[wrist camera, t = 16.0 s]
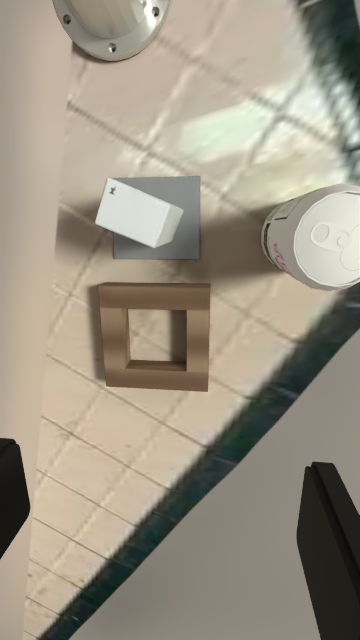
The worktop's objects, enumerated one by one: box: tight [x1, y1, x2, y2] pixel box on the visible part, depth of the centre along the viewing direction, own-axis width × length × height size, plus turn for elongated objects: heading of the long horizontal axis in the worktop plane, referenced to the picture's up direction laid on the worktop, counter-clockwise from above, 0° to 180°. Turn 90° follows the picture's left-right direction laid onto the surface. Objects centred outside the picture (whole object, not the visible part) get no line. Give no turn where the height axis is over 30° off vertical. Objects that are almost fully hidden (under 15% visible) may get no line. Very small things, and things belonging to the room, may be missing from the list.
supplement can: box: [261, 184, 360, 291], centre depth 30 cm, size 8×8×15 cm
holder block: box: [98, 282, 211, 392], centre depth 42 cm, size 14×14×3 cm
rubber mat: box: [112, 176, 200, 259], centre depth 39 cm, size 10×11×1 cm
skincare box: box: [95, 178, 184, 248], centre depth 33 cm, size 6×4×12 cm
